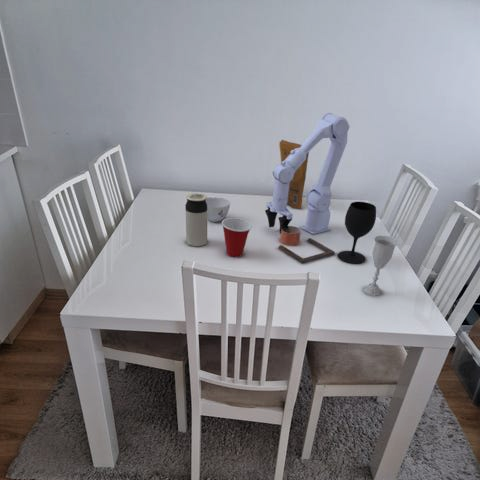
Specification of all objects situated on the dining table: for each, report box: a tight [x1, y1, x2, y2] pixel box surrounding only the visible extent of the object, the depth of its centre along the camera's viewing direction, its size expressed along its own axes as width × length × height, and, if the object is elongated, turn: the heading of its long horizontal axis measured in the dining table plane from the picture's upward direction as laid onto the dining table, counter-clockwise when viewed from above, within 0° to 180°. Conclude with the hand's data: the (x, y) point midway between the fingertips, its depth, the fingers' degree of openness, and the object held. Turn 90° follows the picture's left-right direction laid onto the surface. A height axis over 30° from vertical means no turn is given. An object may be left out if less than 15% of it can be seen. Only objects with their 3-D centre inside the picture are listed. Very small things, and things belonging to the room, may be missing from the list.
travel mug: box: [185, 192, 208, 247], centre depth 155 cm, size 8×8×18 cm
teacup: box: [206, 196, 231, 223], centre depth 178 cm, size 15×12×8 cm
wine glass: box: [337, 201, 377, 265], centre depth 150 cm, size 10×10×20 cm
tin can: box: [279, 225, 302, 247], centre depth 164 cm, size 8×8×5 cm
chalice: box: [363, 235, 399, 296], centre depth 131 cm, size 7×7×18 cm
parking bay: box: [278, 237, 336, 265], centre depth 158 cm, size 16×14×1 cm
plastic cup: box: [221, 217, 253, 258], centre depth 151 cm, size 11×11×12 cm
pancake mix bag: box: [278, 139, 310, 210], centre depth 193 cm, size 7×19×28 cm, turn 30°
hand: (276, 230), depth 170 cm, fingers open, 7 cm apart
